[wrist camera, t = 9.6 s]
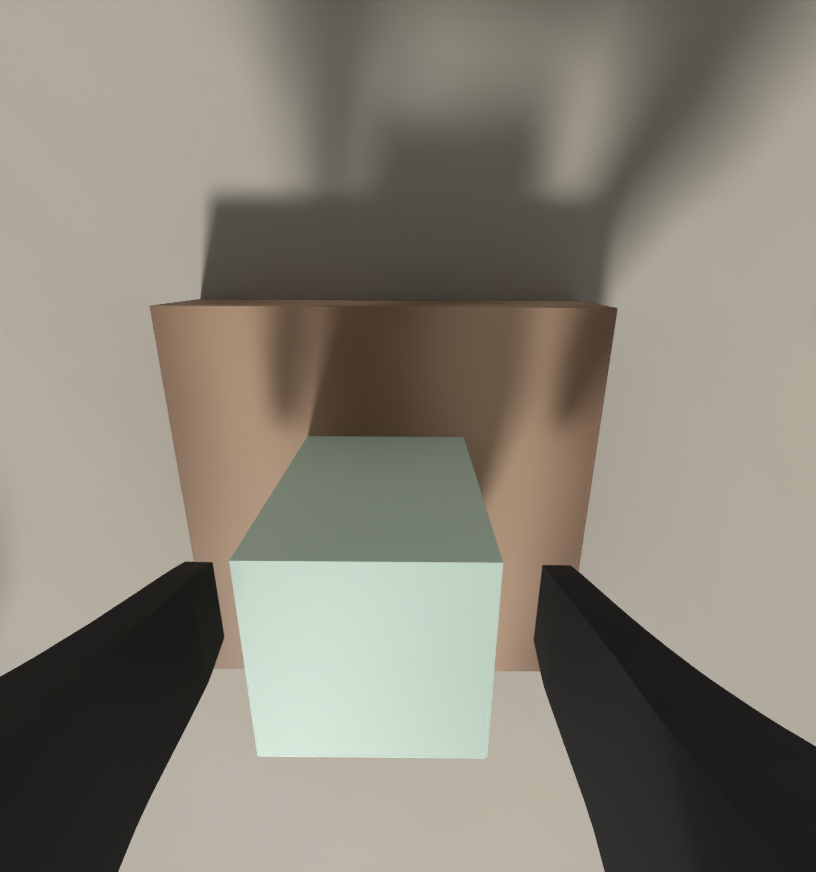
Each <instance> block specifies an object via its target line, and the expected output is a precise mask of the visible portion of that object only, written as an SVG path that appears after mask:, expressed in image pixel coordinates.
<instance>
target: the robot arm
mask: <svg viewBox="0 0 816 872" xmlns="http://www.w3.org/2000/svg"><path fill="white" fill-rule="evenodd" d="M223 640H224V630H223V624H222V618H221V611H220V605H219V599H218V593H217V586H216V580H215V574H214V568H213V562H184V563H182V564H180V565H179V566H177V567H175V568H173V569H172V570H170V571H169V572H167V573H166V574H164V575H162V576H161V577H159V578H158V579H156V580H155V581H153V582H152V583H150V584H149V585H147V586H146V587H144V588H143V589H141V590H140V591H138V592H137V593H135V594H134V595H132V596H131V597H129V598H128V599H126V600H125V601H123V602H122V603H120V604H119V605H117V606H116V607H114V608H113V609H111V610H109V611H108V612H106V613H105V614H103V615H102V616H100V617H99V618H97V619H96V620H94V621H93V622H91V623H90V624H88V625H86V626H85V627H83V628H81V629H80V630H78V631H77V632H75V633H73V634H72V635H70V636H68V637H67V638H65V639H64V640H62V641H60V642H59V643H57V644H55V645H54V646H52V647H50V648H49V649H47V650H46V651H44V652H42V653H41V654H39V655H37V656H36V657H34V658H32V659H31V660H29V661H27V662H25V663H24V664H22V665H20V666H18V667H17V668H15V669H13V670H11V671H10V672H8V673H6V674H4V675H2V676H1V677H0V872H118V871H119V868H120V866H121V863H122V861H123V859H124V856H125V854H126V851H127V849H128V846H129V844H130V841H131V839H132V837H133V834H134V832H135V829H136V827H137V824H138V822H139V820H140V818H141V816H142V814H143V812H144V810H145V807H146V805H147V803H148V801H149V799H150V797H151V795H152V793H153V791H154V789H155V787H156V785H157V783H158V781H159V779H160V777H161V775H162V773H163V771H164V769H165V767H166V765H167V763H168V761H169V759H170V758H171V756H172V754H173V752H174V750H175V748H176V746H177V744H178V742H179V740H180V738H181V736H182V734H183V732H184V730H185V728H186V726H187V724H188V722H189V720H190V718H191V716H192V714H193V712H194V710H195V708H196V706H197V704H198V702H199V700H200V698H201V696H202V694H203V692H204V690H205V688H206V686H207V684H208V682H209V679H210V676H211V674H212V671H213V669H214V666H215V663H216V660H217V658H218V655H219V652H220V649H221V646H222V643H223ZM534 645H535V650H536V654H537V659H538V663H539V668H540V672H541V676H542V680H543V684H544V688H545V691H546V694H547V697H548V700H549V703H550V705H551V708H552V711H553V714H554V717H555V720H556V723H557V725H558V728H559V731H560V734H561V737H562V739H563V742H564V745H565V748H566V751H567V753H568V756H569V759H570V762H571V765H572V767H573V770H574V773H575V776H576V779H577V781H578V784H579V787H580V790H581V793H582V795H583V798H584V801H585V804H586V807H587V810H588V814H589V817H590V820H591V823H592V826H593V829H594V833H595V836H596V840H597V844H598V848H599V852H600V855H601V859H602V863H603V867H604V870H605V872H816V746H814V745H812V744H811V743H809V742H807V741H805V740H804V739H802V738H800V737H799V736H797V735H795V734H794V733H792V732H790V731H789V730H787V729H785V728H784V727H782V726H780V725H779V724H777V723H776V722H774V721H772V720H771V719H769V718H768V717H766V716H764V715H763V714H761V713H760V712H758V711H757V710H755V709H754V708H752V707H751V706H749V705H748V704H746V703H745V702H743V701H742V700H740V699H739V698H737V697H736V696H734V695H733V694H731V693H730V692H728V691H727V690H725V689H724V688H722V687H721V686H719V685H718V684H716V683H715V682H713V681H712V680H711V679H709V678H708V677H706V676H705V675H704V674H702V673H701V672H699V671H698V670H697V669H695V668H694V667H693V666H691V665H690V664H689V663H687V662H686V661H685V660H683V659H682V658H681V657H680V656H678V655H677V654H676V653H674V652H673V651H672V650H670V649H669V648H668V647H666V646H665V645H664V644H663V643H661V642H660V641H659V640H658V639H656V638H655V637H654V636H653V635H651V634H650V633H649V632H648V631H646V630H645V629H644V628H643V627H642V626H640V625H639V624H638V623H637V622H636V621H634V620H633V619H632V618H631V617H630V616H629V615H627V614H626V613H625V612H624V611H623V610H622V609H620V608H619V607H618V606H617V605H616V604H615V603H613V602H612V601H611V600H610V599H609V598H608V597H607V596H605V595H604V594H603V593H602V592H601V591H600V590H599V589H598V588H596V587H595V586H594V585H593V584H592V583H591V582H590V581H588V580H587V579H586V578H585V577H584V576H583V575H582V574H580V573H579V572H578V571H577V570H576V569H575V568H573V567H572V566H571V565H542V572H541V581H540V589H539V598H538V606H537V615H536V623H535V632H534Z"/></svg>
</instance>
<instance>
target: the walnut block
mask: <svg viewBox="0 0 816 872" xmlns="http://www.w3.org/2000/svg"><path fill="white" fill-rule="evenodd" d="M150 311H151V316H152V322H153V328H154V334H155V339H156V345H157V351H158V357H159V362H160V368H161V374H162V380H163V385H164V391H165V397H166V403H167V408H168V414H169V420H170V426H171V431H172V437H173V443H174V449H175V454H176V460H177V466H178V471H179V477H180V483H181V489H182V494H183V500H184V506H185V512H186V517H187V523H188V529H189V535H190V540H191V546H192V552H193V558H194V562H213V568H214V574H215V580H216V586H217V593H218V599H219V605H220V611H221V618H222V624H223V630H224V640H223V643H222V646H221V649H220V652H219V655H218V658H217V660H216V663H215V666H214V668H215V669H245V667H244V660H243V653H242V646H241V639H240V632H239V626H238V619H237V612H236V605H235V598H234V591H233V584H232V578H231V571H230V564H229V560H230V559H231V557H232V555H233V554H234V552H235V551H236V549H237V547H238V546H239V544H240V543H241V541H242V539H243V538H244V536H245V535H246V533H247V532H248V530H249V528H250V527H251V525H252V524H253V522H254V520H255V519H256V517H257V516H258V514H259V512H260V511H261V509H262V508H263V506H264V505H265V503H266V501H267V500H268V498H269V497H270V495H271V493H272V492H273V490H274V489H275V487H276V485H277V484H278V482H279V481H280V479H281V478H282V476H283V474H284V473H285V471H286V470H287V468H288V466H289V465H290V463H291V462H292V460H293V458H294V457H295V455H296V454H297V452H298V451H299V449H300V447H301V446H302V444H303V443H304V441H305V439H306V438H307V436H354V437H464V440H465V443H466V446H467V449H468V452H469V456H470V459H471V462H472V465H473V468H474V471H475V475H476V478H477V481H478V484H479V487H480V490H481V494H482V497H483V500H484V503H485V506H486V510H487V513H488V516H489V519H490V522H491V525H492V529H493V532H494V535H495V538H496V541H497V544H498V548H499V551H500V554H501V557H502V560H503V572H502V584H501V596H500V608H499V620H498V632H497V644H496V656H495V668H494V671H540V668H539V663H538V659H537V654H536V650H535V645H534V632H535V623H536V615H537V606H538V598H539V589H540V581H541V572H542V565H571V566H572V567H573V568H575V569H576V570H577V571H578V570H579V564H580V557H581V550H582V543H583V537H584V530H585V523H586V516H587V510H588V503H589V496H590V490H591V483H592V476H593V469H594V463H595V456H596V449H597V442H598V436H599V429H600V422H601V416H602V409H603V402H604V395H605V389H606V382H607V375H608V368H609V362H610V355H611V348H612V341H613V335H614V328H615V321H616V315H617V308H614V307H609V306H603V305H598V304H592V303H586V302H581V301H470V300H256V299H198V300H190V301H182V302H175V303H167V304H160V305H152V306H150Z"/></svg>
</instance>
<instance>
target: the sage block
mask: <svg viewBox="0 0 816 872" xmlns="http://www.w3.org/2000/svg"><path fill="white" fill-rule="evenodd" d="M229 564H230V571H231V578H232V584H233V591H234V598H235V605H236V612H237V619H238V626H239V632H240V639H241V646H242V653H243V660H244V667H245V673H246V680H247V687H248V694H249V701H250V708H251V714H252V721H253V728H254V735H255V742H256V749H257V756H263V757H376V758H487V752H488V740H489V728H490V716H491V704H492V692H493V680H494V668H495V656H496V644H497V632H498V620H499V608H500V596H501V584H502V572H503V560H502V557H501V554H500V551H499V548H498V544H497V541H496V538H495V535H494V532H493V529H492V525H491V522H490V519H489V516H488V513H487V510H486V506H485V503H484V500H483V497H482V494H481V490H480V487H479V484H478V481H477V478H476V475H475V471H474V468H473V465H472V462H471V459H470V456H469V452H468V449H467V446H466V443H465V440H464V437H354V436H307V438H306V439H305V441H304V443H303V444H302V446H301V447H300V449H299V451H298V452H297V454H296V455H295V457H294V458H293V460H292V462H291V463H290V465H289V466H288V468H287V470H286V471H285V473H284V474H283V476H282V478H281V479H280V481H279V482H278V484H277V485H276V487H275V489H274V490H273V492H272V493H271V495H270V497H269V498H268V500H267V501H266V503H265V505H264V506H263V508H262V509H261V511H260V512H259V514H258V516H257V517H256V519H255V520H254V522H253V524H252V525H251V527H250V528H249V530H248V532H247V533H246V535H245V536H244V538H243V539H242V541H241V543H240V544H239V546H238V547H237V549H236V551H235V552H234V554H233V555H232V557H231V559H230V560H229Z"/></svg>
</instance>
